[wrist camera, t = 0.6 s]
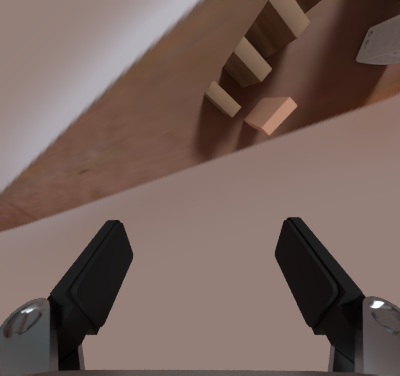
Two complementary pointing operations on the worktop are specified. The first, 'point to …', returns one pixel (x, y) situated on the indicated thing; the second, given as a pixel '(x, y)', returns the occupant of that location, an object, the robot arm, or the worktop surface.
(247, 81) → the domino
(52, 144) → the worktop surface
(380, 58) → the skincare box
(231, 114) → the domino
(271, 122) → the end tile
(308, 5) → the domino
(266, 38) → the domino
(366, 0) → the worktop surface
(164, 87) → the worktop surface
